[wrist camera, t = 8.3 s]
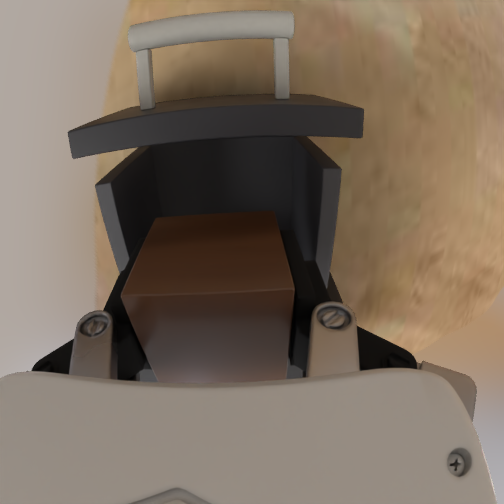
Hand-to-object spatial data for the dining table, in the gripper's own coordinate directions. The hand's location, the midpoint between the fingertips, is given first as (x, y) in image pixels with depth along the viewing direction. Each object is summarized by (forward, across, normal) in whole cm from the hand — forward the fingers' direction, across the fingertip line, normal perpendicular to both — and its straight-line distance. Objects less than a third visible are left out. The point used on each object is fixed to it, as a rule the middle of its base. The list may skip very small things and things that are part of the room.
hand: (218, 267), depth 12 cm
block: (0, 0, 0) cm, 0 cm away
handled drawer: (+9, 0, -1) cm, 9 cm away
